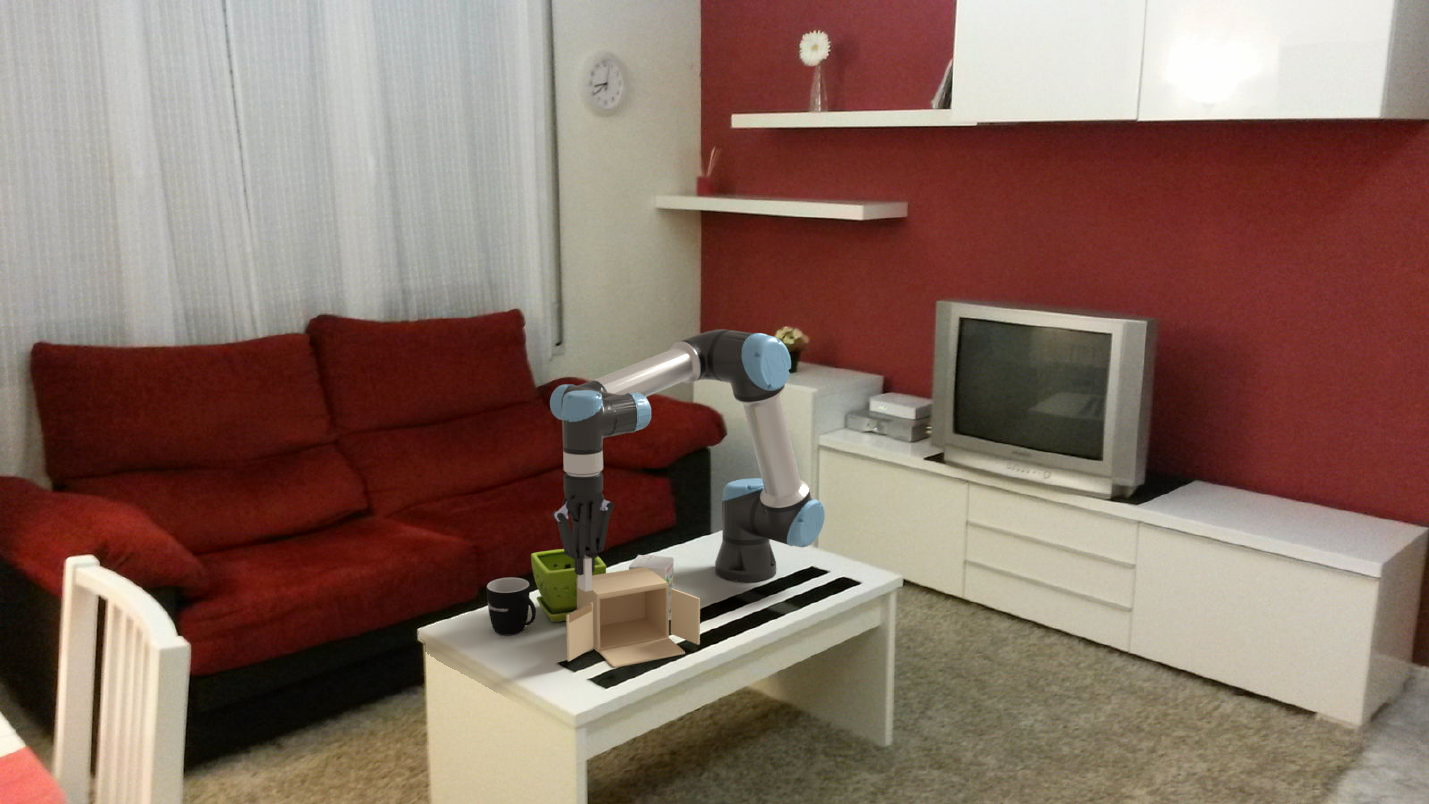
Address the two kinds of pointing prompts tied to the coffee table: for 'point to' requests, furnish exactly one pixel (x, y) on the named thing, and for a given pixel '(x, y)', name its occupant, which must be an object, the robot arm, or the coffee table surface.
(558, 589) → the flower pot
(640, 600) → the carton
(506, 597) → the mug
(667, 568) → the ink box
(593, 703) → the coffee table surface
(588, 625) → the flap
